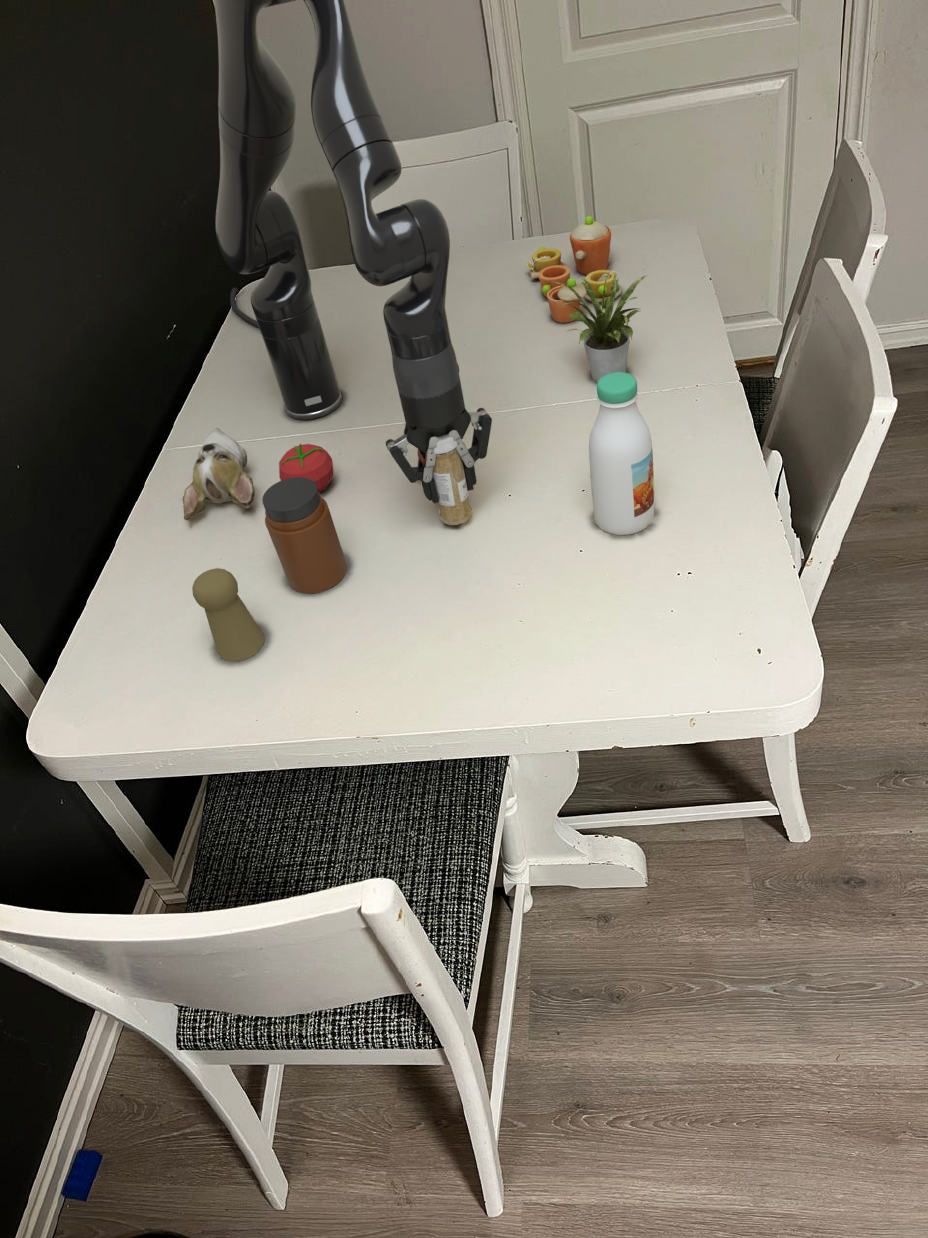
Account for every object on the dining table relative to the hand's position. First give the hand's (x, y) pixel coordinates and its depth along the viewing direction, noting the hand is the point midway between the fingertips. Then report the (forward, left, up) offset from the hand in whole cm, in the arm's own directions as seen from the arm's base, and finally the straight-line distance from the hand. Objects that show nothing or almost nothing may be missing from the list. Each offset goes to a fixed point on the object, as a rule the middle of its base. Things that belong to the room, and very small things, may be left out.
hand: (451, 493), depth 124 cm
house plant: (-22, +32, -5) cm, 39 cm away
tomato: (-19, -16, -5) cm, 25 cm away
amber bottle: (0, -20, -5) cm, 20 cm away
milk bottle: (+11, +19, -5) cm, 23 cm away
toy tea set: (-51, +42, -5) cm, 66 cm away
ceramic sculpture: (-25, -28, -5) cm, 38 cm away
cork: (+8, -32, -5) cm, 33 cm away
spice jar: (0, 0, -4) cm, 4 cm away
